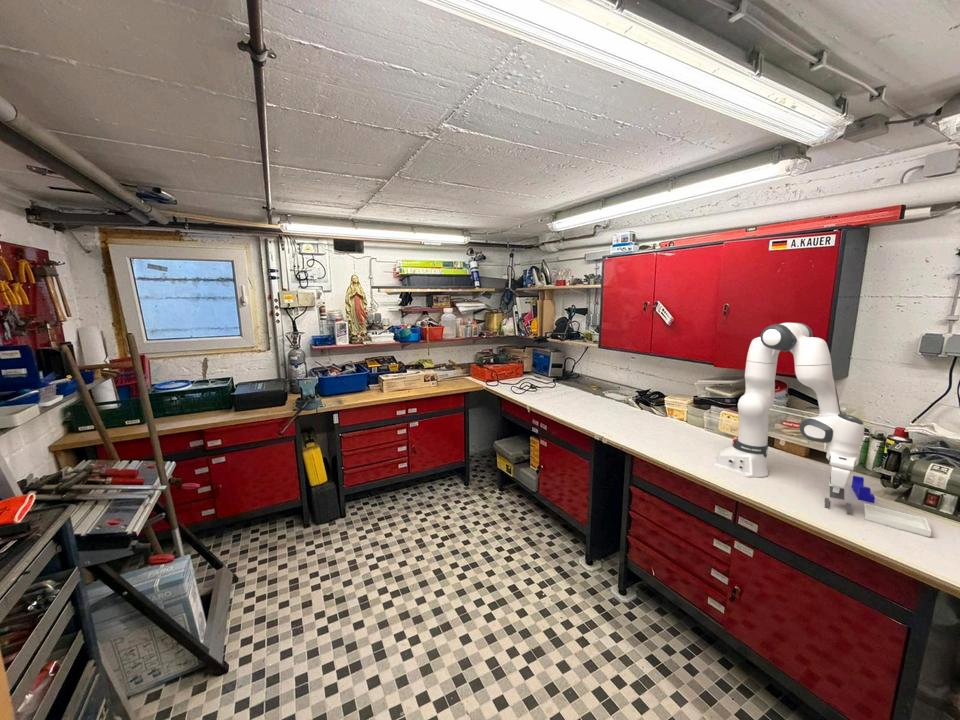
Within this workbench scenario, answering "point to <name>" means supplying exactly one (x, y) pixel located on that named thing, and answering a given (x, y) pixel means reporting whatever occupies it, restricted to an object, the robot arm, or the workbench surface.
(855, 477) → the blue stepped block
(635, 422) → the workbench surface
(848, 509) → the holder
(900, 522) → the tray
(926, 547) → the workbench surface
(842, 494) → the grey block
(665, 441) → the workbench surface
